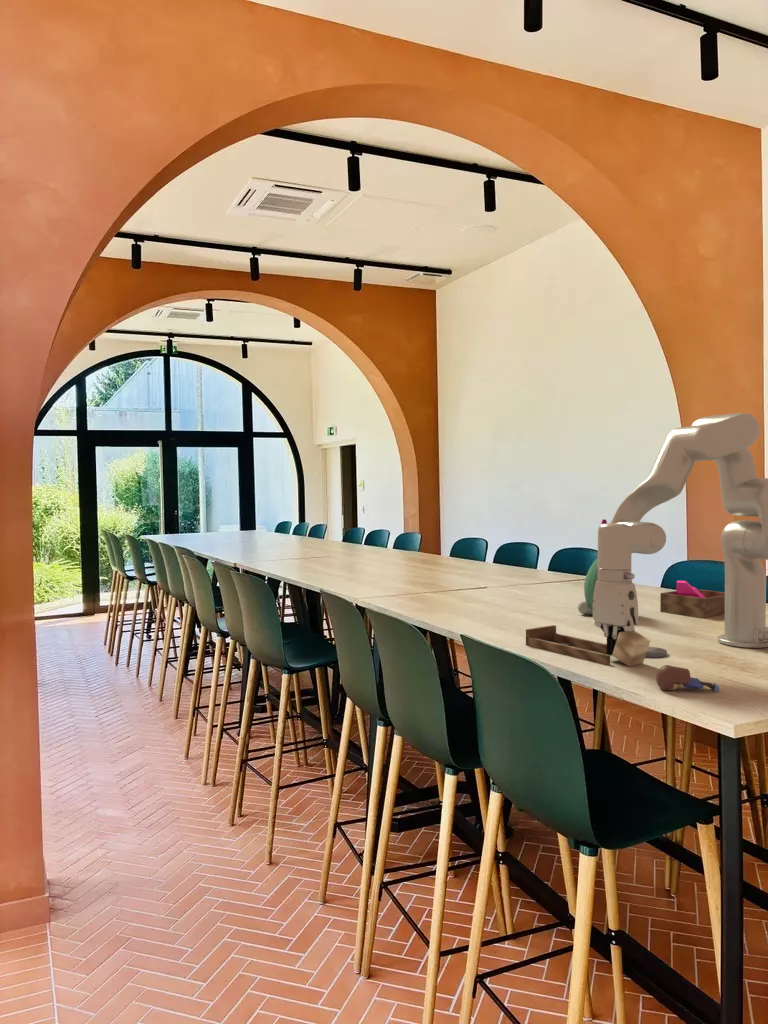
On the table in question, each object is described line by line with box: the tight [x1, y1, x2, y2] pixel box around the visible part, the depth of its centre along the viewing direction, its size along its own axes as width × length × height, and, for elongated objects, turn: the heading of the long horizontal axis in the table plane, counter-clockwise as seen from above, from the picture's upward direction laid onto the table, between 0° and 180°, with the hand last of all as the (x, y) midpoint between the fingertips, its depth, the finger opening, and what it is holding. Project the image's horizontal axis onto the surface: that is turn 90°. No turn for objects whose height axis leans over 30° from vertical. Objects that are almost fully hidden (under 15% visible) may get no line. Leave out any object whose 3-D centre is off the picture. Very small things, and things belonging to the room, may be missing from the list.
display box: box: [659, 588, 725, 619], centre depth 237 cm, size 15×17×6 cm
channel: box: [525, 624, 611, 666], centre depth 182 cm, size 26×10×4 cm, turn 34°
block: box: [612, 630, 651, 667], centre depth 169 cm, size 5×5×6 cm
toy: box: [577, 518, 633, 616], centre depth 233 cm, size 15×17×30 cm
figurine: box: [655, 664, 720, 693], centre depth 147 cm, size 5×5×12 cm
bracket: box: [676, 580, 705, 598], centre depth 238 cm, size 12×10×10 cm
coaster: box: [645, 646, 668, 659], centre depth 179 cm, size 9×9×1 cm
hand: (613, 654), depth 173 cm, fingers closed
